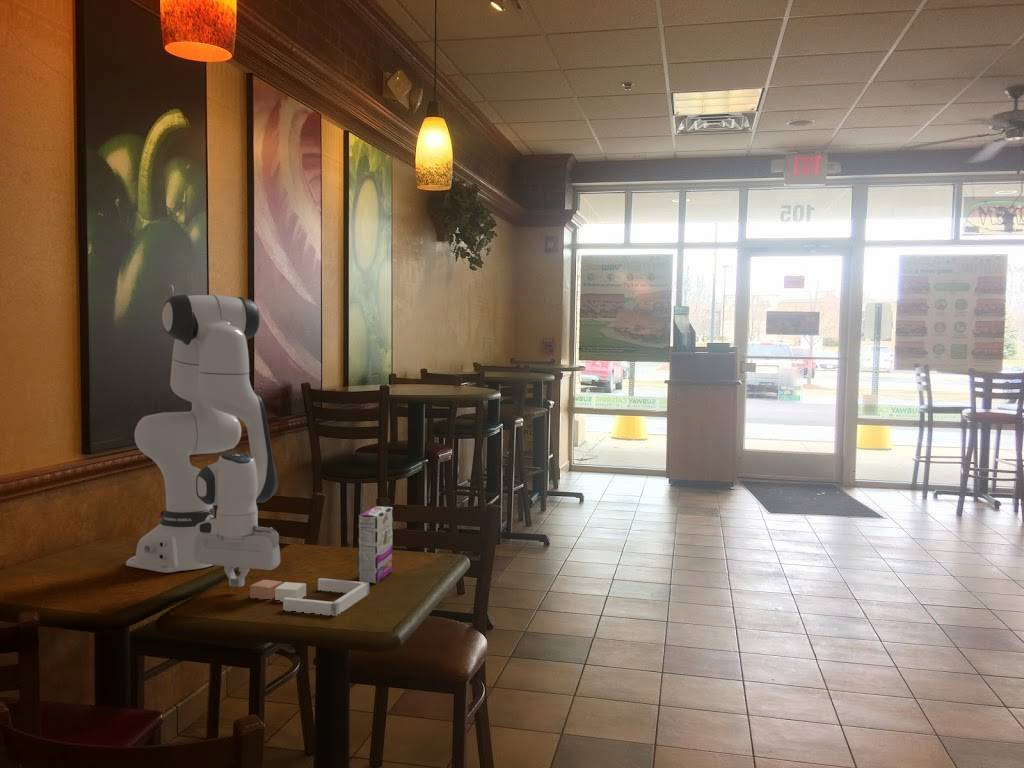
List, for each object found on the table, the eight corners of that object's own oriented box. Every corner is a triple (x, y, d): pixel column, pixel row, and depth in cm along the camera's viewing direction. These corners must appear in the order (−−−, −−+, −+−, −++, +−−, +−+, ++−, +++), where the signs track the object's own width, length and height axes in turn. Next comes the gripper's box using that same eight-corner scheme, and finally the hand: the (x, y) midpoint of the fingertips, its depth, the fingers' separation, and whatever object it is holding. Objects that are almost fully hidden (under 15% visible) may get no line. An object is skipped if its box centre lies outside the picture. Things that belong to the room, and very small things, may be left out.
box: (283, 610, 168) (283, 598, 168) (320, 588, 184) (320, 578, 184) (336, 616, 165) (336, 604, 165) (369, 593, 181) (369, 582, 181)
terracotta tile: (250, 598, 176) (250, 585, 176) (263, 592, 181) (263, 579, 181) (269, 601, 175) (269, 587, 175) (282, 594, 180) (282, 581, 179)
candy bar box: (374, 570, 200) (375, 505, 200) (393, 571, 199) (394, 506, 199) (357, 582, 189) (357, 514, 189) (376, 584, 188) (377, 515, 188)
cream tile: (275, 602, 174) (275, 588, 174) (285, 595, 179) (285, 582, 179) (296, 603, 174) (296, 589, 174) (306, 596, 179) (306, 583, 178)
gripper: (285, 525, 180) (285, 585, 180) (206, 519, 185) (206, 578, 185) (270, 531, 174) (270, 593, 174) (189, 524, 179) (189, 585, 179)
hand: (236, 585), depth 180 cm, fingers closed
